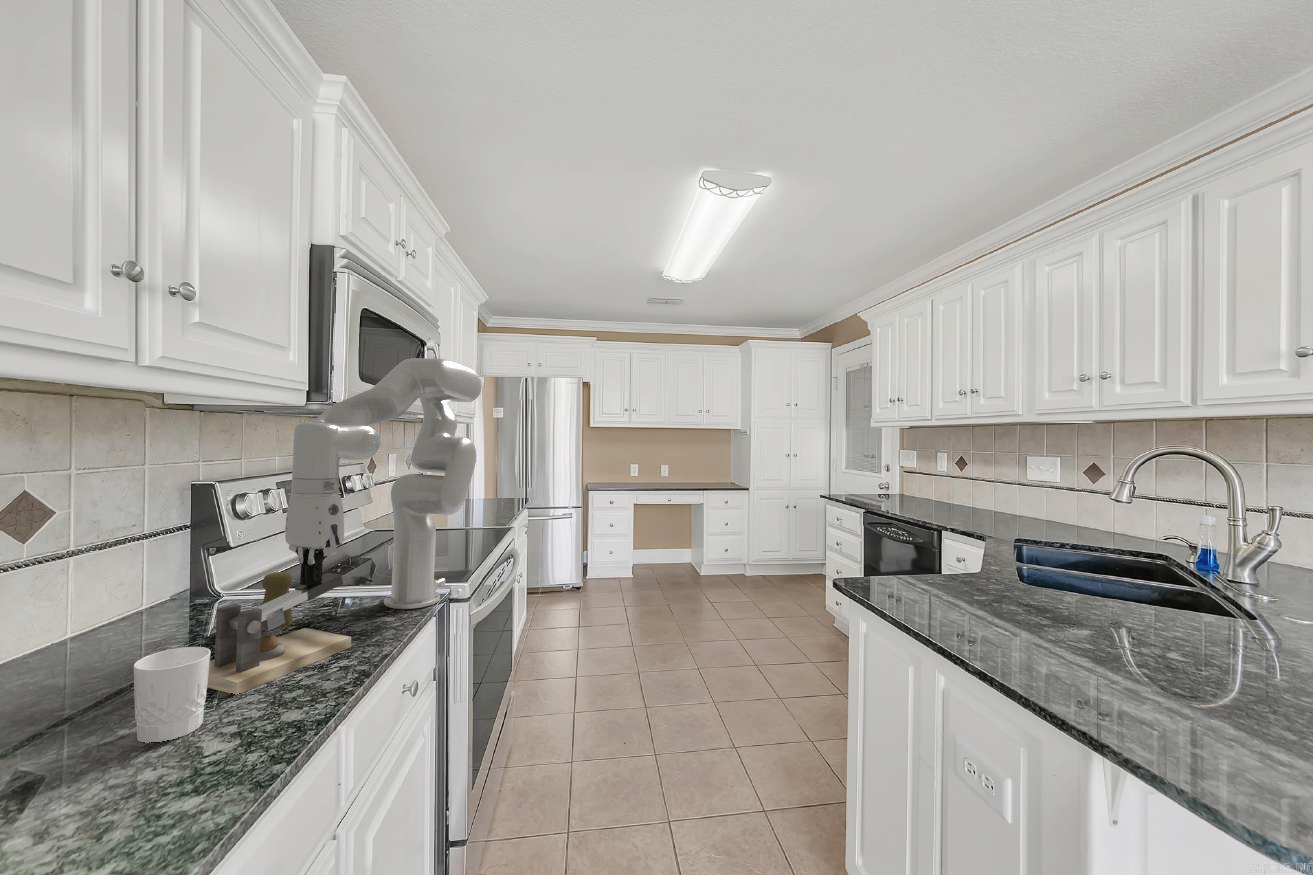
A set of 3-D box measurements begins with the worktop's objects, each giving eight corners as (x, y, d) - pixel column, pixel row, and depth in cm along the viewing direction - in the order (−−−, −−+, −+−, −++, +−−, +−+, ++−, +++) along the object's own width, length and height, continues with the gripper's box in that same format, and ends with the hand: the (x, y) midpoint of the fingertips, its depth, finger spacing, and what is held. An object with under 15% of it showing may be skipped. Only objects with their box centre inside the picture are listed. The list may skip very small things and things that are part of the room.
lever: (330, 591, 108) (327, 572, 107) (343, 593, 107) (341, 574, 106) (230, 640, 90) (227, 618, 89) (246, 643, 89) (242, 621, 88)
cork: (274, 630, 110) (277, 577, 110) (250, 627, 112) (252, 575, 112) (299, 621, 116) (301, 570, 116) (276, 618, 118) (278, 568, 118)
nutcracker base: (304, 637, 107) (307, 580, 107) (350, 647, 104) (353, 587, 104) (184, 681, 87) (187, 611, 87) (236, 694, 84) (239, 621, 84)
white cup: (128, 729, 73) (131, 656, 73) (203, 709, 79) (206, 642, 79) (132, 753, 68) (135, 675, 68) (212, 730, 74) (215, 658, 74)
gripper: (362, 488, 103) (358, 583, 103) (304, 483, 108) (300, 574, 108) (327, 491, 96) (323, 593, 96) (267, 486, 101) (262, 583, 100)
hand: (311, 583), depth 102 cm, fingers closed
